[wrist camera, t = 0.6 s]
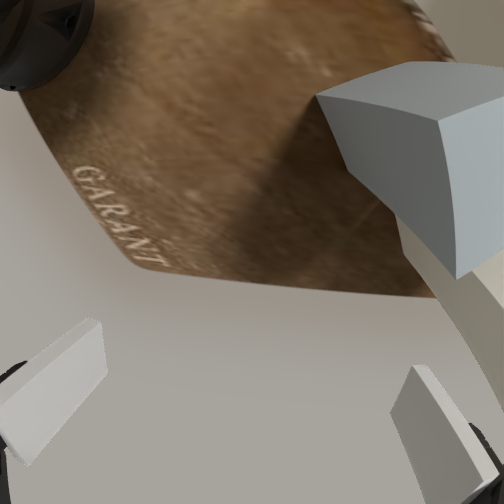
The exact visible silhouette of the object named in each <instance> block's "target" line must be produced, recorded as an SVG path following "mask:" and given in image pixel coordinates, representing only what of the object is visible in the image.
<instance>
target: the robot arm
mask: <svg viewBox="0 0 504 504" xmlns="http://www.w3.org/2000/svg"><path fill="white" fill-rule="evenodd" d="M93 13H94V0H0V88H1V89H4V90H7V91H23V90H28V89H33V88H37V87H39V86H41V85H43V84H45V83H47V82H49V81H50V80H52V79H53V78H54V77H55V76H57V75H58V74H59V73H60V72H61V71H62V70H63V69H64V68H65V67H66V66H67V65H68V64H69V62H70V61H71V60H72V59H73V57H74V56H75V54H76V53H77V51H78V50H79V48H80V47H81V45H82V43H83V41H84V39H85V37H86V35H87V33H88V30H89V28H90V25H91V21H92V18H93ZM107 374H108V369H107V363H106V356H105V349H104V341H103V333H102V323H101V321H97V320H95V319H91V318H88V317H87V318H86V319H85V320H83V321H82V322H80V323H79V324H78V325H76V326H75V327H74V328H72V329H71V330H69V331H68V332H67V333H65V334H64V335H63V336H61V337H60V338H59V339H57V340H56V341H55V342H53V343H52V344H51V345H49V346H48V347H47V348H45V349H44V350H43V351H41V352H40V353H39V354H38V355H36V356H35V357H34V358H33V359H31V360H30V361H23V362H21V363H18V364H16V365H14V366H13V367H11V368H10V369H9V370H7V371H6V373H4V374H2V375H1V376H0V504H11V501H10V494H9V486H8V476H7V463H6V455H5V451H4V449H5V448H6V447H8V448H9V450H10V452H11V453H12V454H13V456H14V457H15V458H17V459H18V460H19V461H21V462H22V463H23V464H25V465H26V466H27V467H28V466H30V464H31V463H32V462H33V461H34V460H35V458H36V457H37V456H38V455H39V453H40V452H41V451H42V450H43V448H44V447H45V446H46V445H47V443H48V442H49V441H50V440H51V439H52V438H53V436H54V435H55V434H56V433H57V432H58V430H59V429H60V428H61V427H62V426H63V425H64V423H65V422H66V421H67V420H68V419H69V417H70V416H71V415H72V414H73V413H74V412H75V410H76V409H77V408H78V407H79V406H80V405H81V403H82V402H83V401H84V400H85V399H86V397H87V396H88V395H89V394H90V393H91V392H92V391H93V390H94V388H95V387H96V386H97V385H98V384H99V383H100V382H101V380H102V379H103V378H104V377H105V376H106V375H107ZM390 414H391V416H392V419H393V421H394V423H395V426H396V428H397V430H398V433H399V435H400V438H401V440H402V442H403V445H404V447H405V450H406V452H407V455H408V457H409V460H410V462H411V465H412V467H413V470H414V473H415V475H416V478H417V480H418V483H419V486H420V489H421V491H422V494H423V497H424V499H425V502H426V504H504V467H503V465H502V464H501V462H500V461H499V459H498V457H497V456H496V454H495V453H494V451H493V450H492V448H490V445H489V443H488V442H487V441H485V437H484V436H483V434H482V433H481V431H480V430H479V429H478V428H477V427H475V426H474V425H473V424H472V423H467V421H466V420H465V418H464V417H463V415H462V414H461V412H460V411H459V409H458V408H457V407H456V405H455V404H454V402H453V401H452V399H451V398H450V397H449V395H448V394H447V392H445V390H444V388H443V387H442V386H441V384H440V383H439V381H438V380H437V379H436V377H435V376H434V375H433V373H432V372H431V371H430V370H429V368H428V367H427V365H412V367H411V369H410V371H409V374H408V376H407V379H406V380H405V383H404V385H403V387H402V389H401V392H400V394H399V396H398V398H397V400H396V402H395V404H394V406H393V408H392V410H391V412H390Z"/></svg>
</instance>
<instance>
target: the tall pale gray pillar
mask: <svg viewBox="0 0 504 504" xmlns="http://www.w3.org/2000/svg"><path fill="white" fill-rule="evenodd" d="M315 96H316V98H317V100H318V102H319V104H320V106H321V108H322V111H323V113H324V115H325V117H326V119H327V122H328V124H329V126H330V128H331V131H332V133H333V135H334V138H335V140H336V142H337V145H338V147H339V150H340V152H341V155H342V157H343V160H344V162H345V165H346V167H347V170H348V172H350V173H351V174H352V175H353V176H354V177H355V178H357V179H358V180H359V181H360V182H361V183H362V184H363V185H365V186H366V187H367V188H368V189H369V190H370V191H371V192H372V193H373V194H374V195H376V196H377V197H378V198H379V199H380V200H381V201H382V202H383V203H384V204H385V205H386V206H387V207H388V208H389V209H390V210H391V211H392V212H393V213H395V214H396V215H397V216H398V217H399V218H400V219H401V220H402V221H403V222H404V223H405V224H406V225H407V226H408V227H409V229H410V230H411V231H412V232H413V233H414V234H415V235H416V236H417V237H418V238H419V239H420V240H421V241H422V242H423V243H424V244H425V245H426V246H427V248H428V249H429V250H430V251H431V252H432V253H433V254H434V255H435V256H436V258H437V259H438V260H439V261H440V262H441V263H442V264H443V266H444V267H445V268H446V269H447V270H448V271H449V273H450V274H451V275H452V276H453V277H454V279H455V280H457V279H459V278H461V277H462V276H464V275H465V274H467V273H469V272H470V271H472V270H473V269H475V268H476V267H478V266H479V265H481V264H483V263H484V262H486V261H487V260H488V259H490V258H491V257H493V256H494V255H496V254H497V253H499V252H500V251H501V250H503V249H504V68H499V67H493V66H485V65H476V64H466V63H452V62H406V63H403V64H399V65H396V66H393V67H389V68H386V69H383V70H380V71H377V72H374V73H371V74H368V75H365V76H362V77H359V78H356V79H354V80H351V81H348V82H345V83H343V84H340V85H337V86H335V87H332V88H330V89H327V90H325V91H322V92H320V93H317V94H315Z"/></svg>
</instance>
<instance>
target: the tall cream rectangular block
mask: <svg viewBox="0 0 504 504" xmlns="http://www.w3.org/2000/svg"><path fill="white" fill-rule="evenodd" d="M395 217H396V221H397V225H398V230H399V234H400V239H401V244H402V249H403V254H404V255H405V257H406V258H407V259H408V260H409V262H410V263H411V264H412V265H413V267H414V268H415V269H416V271H417V272H418V273H419V275H420V276H421V277H422V278H423V280H424V281H425V283H426V284H427V285H428V287H429V288H430V289H431V291H432V292H433V293H434V295H435V296H436V298H437V299H438V301H439V302H440V303H441V305H442V306H443V308H444V309H445V311H446V312H447V313H448V315H449V317H450V318H451V320H452V321H453V323H454V324H455V326H456V327H457V329H458V330H459V332H460V333H461V335H462V337H463V338H464V340H465V341H466V343H467V344H468V346H469V348H470V350H471V351H472V353H473V355H474V356H475V358H476V360H477V362H478V363H479V365H480V367H481V369H482V370H483V372H484V374H485V376H486V378H487V380H488V382H489V383H490V385H491V387H492V389H493V391H494V393H495V395H496V397H497V399H498V401H499V403H500V405H501V407H502V410H503V412H504V249H503V250H501V251H500V252H499V253H497V254H496V255H494V256H493V257H491V258H490V259H488V260H487V261H486V262H484V263H483V264H481V265H479V266H478V267H476V268H475V269H473V270H472V271H470V272H469V273H467V274H465V275H464V276H462V277H461V278H459V279H457V280H455V279H454V277H453V276H452V275H451V274H450V273H449V271H448V270H447V269H446V268H445V267H444V266H443V264H442V263H441V262H440V261H439V260H438V259H437V258H436V256H435V255H434V254H433V253H432V252H431V251H430V250H429V249H428V248H427V246H426V245H425V244H424V243H423V242H422V241H421V240H420V239H419V238H418V237H417V236H416V235H415V234H414V233H413V232H412V231H411V230H410V229H409V227H408V226H407V225H406V224H405V223H404V222H403V221H402V220H401V219H400V218H399V217H398V216H397V215H396V214H395Z"/></svg>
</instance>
